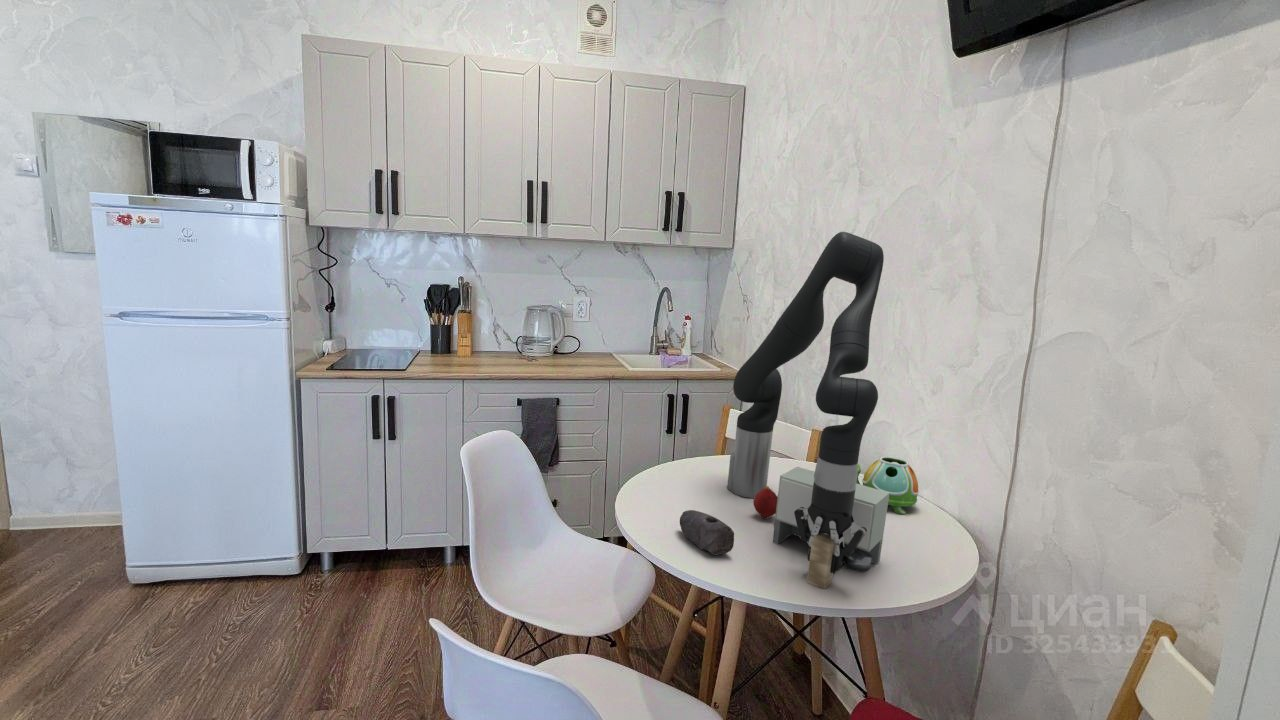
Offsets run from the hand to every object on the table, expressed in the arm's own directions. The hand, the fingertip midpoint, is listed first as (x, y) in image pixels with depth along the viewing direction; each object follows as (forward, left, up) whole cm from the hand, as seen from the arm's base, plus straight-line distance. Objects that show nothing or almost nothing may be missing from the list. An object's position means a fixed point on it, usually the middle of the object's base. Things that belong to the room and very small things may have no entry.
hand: (823, 567), depth 118 cm
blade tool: (0, +5, -3) cm, 5 cm away
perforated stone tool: (-24, -5, -3) cm, 25 cm away
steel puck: (+3, +11, -3) cm, 12 cm away
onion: (-21, +18, -3) cm, 28 cm away
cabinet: (-4, +12, -3) cm, 13 cm away
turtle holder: (-4, +50, -3) cm, 50 cm away
